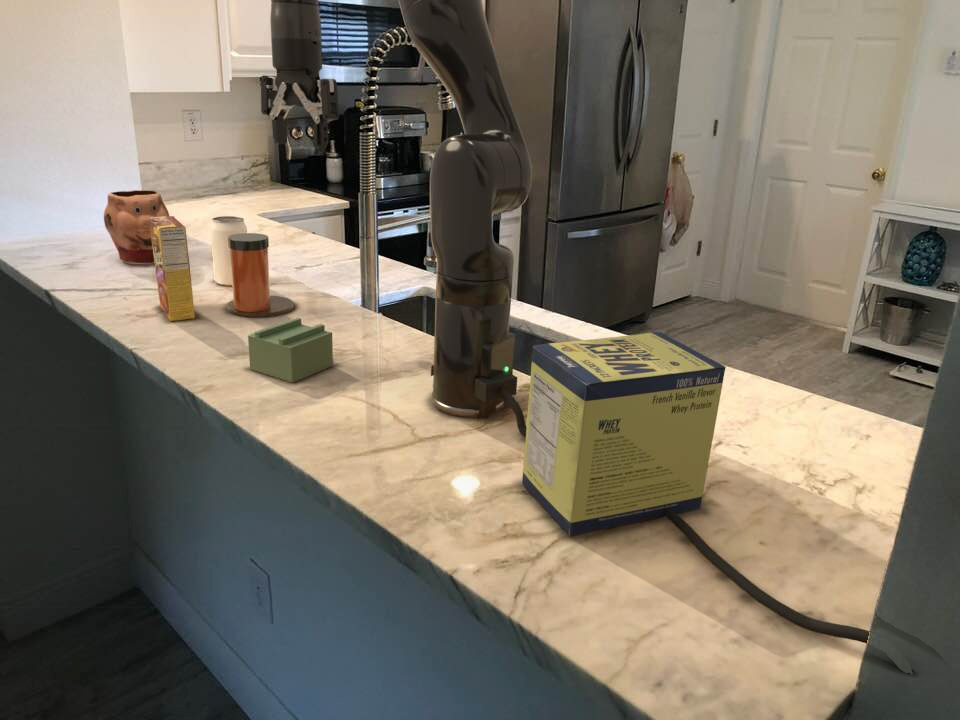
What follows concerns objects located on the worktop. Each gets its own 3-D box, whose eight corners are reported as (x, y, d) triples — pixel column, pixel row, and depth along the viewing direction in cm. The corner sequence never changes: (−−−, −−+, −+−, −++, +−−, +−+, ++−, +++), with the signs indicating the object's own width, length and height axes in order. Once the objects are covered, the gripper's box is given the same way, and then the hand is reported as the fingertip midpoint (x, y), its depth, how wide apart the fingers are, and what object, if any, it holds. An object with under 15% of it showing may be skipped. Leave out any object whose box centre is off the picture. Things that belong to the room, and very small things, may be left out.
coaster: (306, 306, 133) (306, 302, 133) (259, 321, 124) (259, 317, 124) (261, 294, 138) (261, 291, 138) (213, 308, 129) (212, 304, 129)
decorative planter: (94, 252, 161) (85, 186, 156) (152, 246, 169) (146, 182, 164) (128, 273, 147) (120, 200, 142) (190, 265, 155) (184, 196, 150)
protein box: (703, 509, 76) (729, 364, 71) (568, 539, 70) (585, 383, 65) (643, 461, 85) (661, 330, 80) (518, 484, 79) (529, 343, 74)
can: (239, 287, 142) (235, 223, 137) (207, 284, 143) (202, 220, 138) (256, 279, 148) (252, 217, 143) (225, 276, 149) (221, 214, 144)
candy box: (157, 306, 129) (147, 216, 123) (184, 304, 131) (175, 215, 125) (167, 322, 121) (158, 227, 116) (195, 318, 124) (187, 225, 118)
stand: (333, 365, 107) (332, 326, 105) (292, 383, 101) (290, 342, 99) (291, 353, 111) (290, 315, 109) (249, 369, 105) (247, 329, 103)
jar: (249, 231, 129) (219, 237, 124) (276, 236, 126) (247, 243, 121) (253, 299, 133) (224, 307, 128) (280, 306, 130) (251, 315, 125)
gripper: (244, 34, 117) (251, 143, 123) (314, 35, 110) (318, 151, 116) (280, 37, 123) (284, 141, 129) (348, 39, 116) (350, 148, 122)
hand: (300, 146), depth 122 cm, fingers open, 8 cm apart
